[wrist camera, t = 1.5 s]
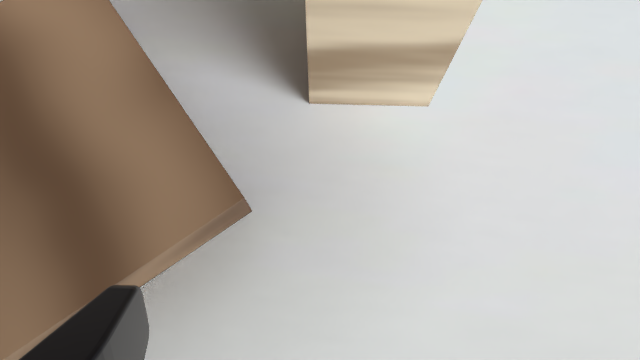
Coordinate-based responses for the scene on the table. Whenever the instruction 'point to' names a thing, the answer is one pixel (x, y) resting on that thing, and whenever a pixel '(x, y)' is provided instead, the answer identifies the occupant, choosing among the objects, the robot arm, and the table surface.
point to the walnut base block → (92, 167)
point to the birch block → (382, 49)
